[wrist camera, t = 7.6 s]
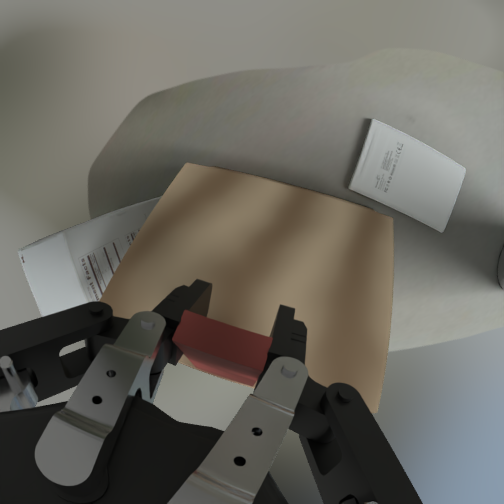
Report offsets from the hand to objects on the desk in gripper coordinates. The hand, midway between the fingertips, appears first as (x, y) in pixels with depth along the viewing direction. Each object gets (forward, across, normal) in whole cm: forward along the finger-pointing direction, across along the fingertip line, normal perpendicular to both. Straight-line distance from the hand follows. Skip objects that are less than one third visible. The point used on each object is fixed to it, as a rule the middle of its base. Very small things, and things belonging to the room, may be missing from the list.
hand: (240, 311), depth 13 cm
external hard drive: (+20, -12, -9) cm, 25 cm away
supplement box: (+19, +17, +6) cm, 26 cm away
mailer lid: (+6, 0, 0) cm, 6 cm away
